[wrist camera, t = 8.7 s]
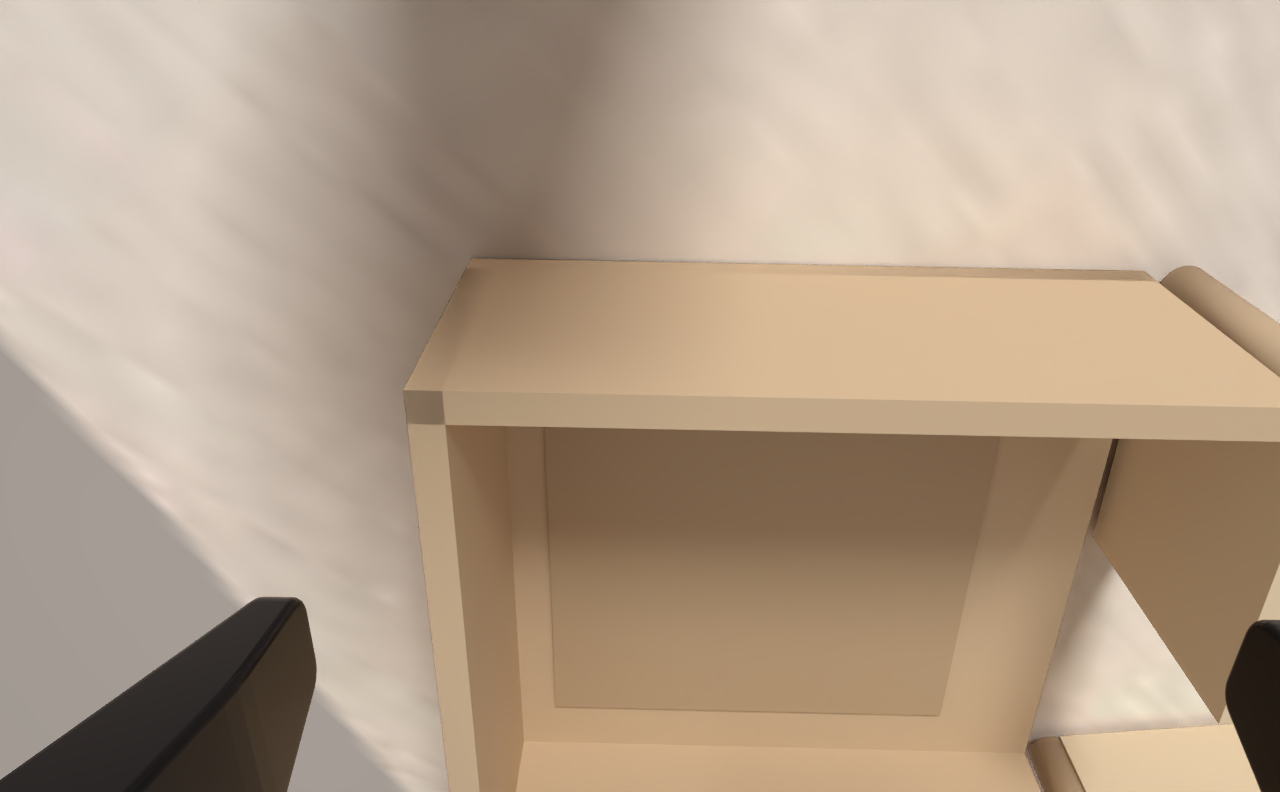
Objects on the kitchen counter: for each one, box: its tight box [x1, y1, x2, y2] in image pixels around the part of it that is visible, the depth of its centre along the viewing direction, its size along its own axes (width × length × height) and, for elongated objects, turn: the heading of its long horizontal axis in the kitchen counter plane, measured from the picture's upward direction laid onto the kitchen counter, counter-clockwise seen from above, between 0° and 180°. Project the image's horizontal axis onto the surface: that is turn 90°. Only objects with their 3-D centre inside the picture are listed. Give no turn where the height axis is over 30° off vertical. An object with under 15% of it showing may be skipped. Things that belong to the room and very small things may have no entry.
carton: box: [403, 258, 1280, 792], centre depth 21 cm, size 14×14×6 cm
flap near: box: [1093, 266, 1280, 724], centre depth 19 cm, size 1×7×6 cm, turn 0°
